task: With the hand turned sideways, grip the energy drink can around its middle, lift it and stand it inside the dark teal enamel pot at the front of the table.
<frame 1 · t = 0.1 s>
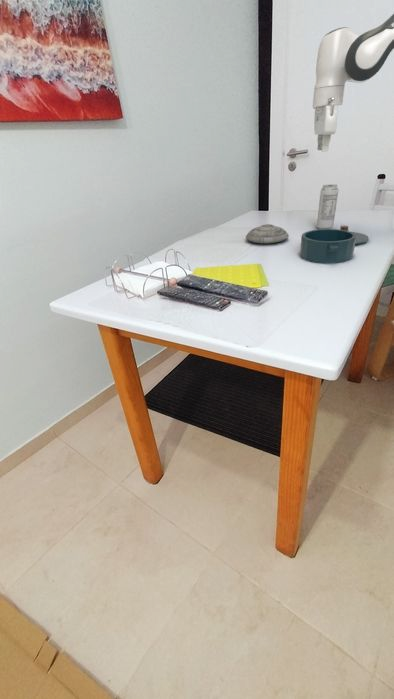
hand: (322, 150, 112), 26 cm above the table, tool pointing down, fingers open, 8 cm apart
energy drink can: (324, 229, 128), on the table
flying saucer: (266, 241, 120), on the table
pot: (325, 255, 102), on the table
pot lid: (342, 238, 113), point 1 cm above the table
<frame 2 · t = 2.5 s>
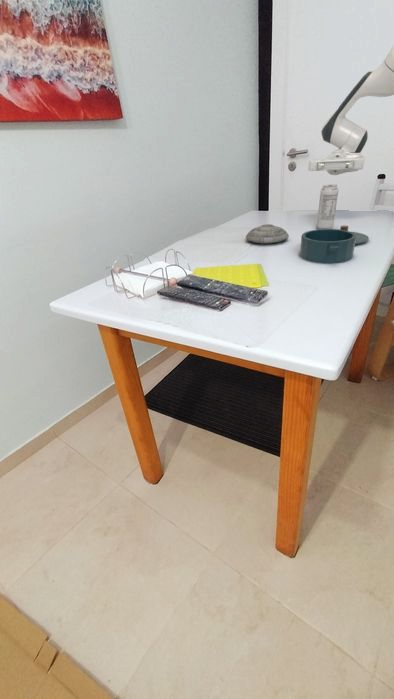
hand: (334, 166, 127), 20 cm above the table, tool horizontal, fingers open, 8 cm apart
nothing on the table moved.
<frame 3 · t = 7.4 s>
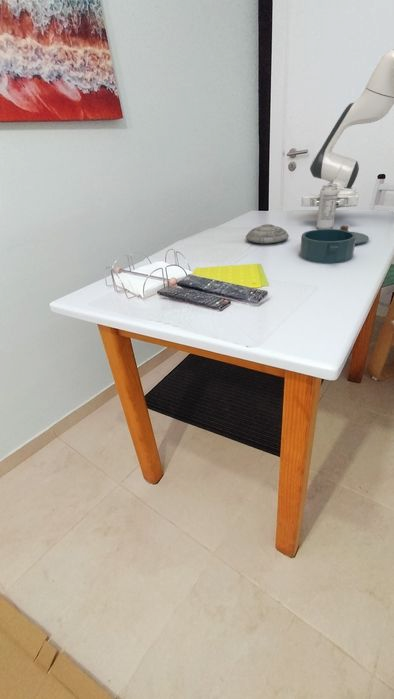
hand: (327, 203, 123), 9 cm above the table, tool horizontal, fingers closed on energy drink can, 6 cm apart
energy drink can: (324, 229, 128), on the table, touching gripper
everything else where it was.
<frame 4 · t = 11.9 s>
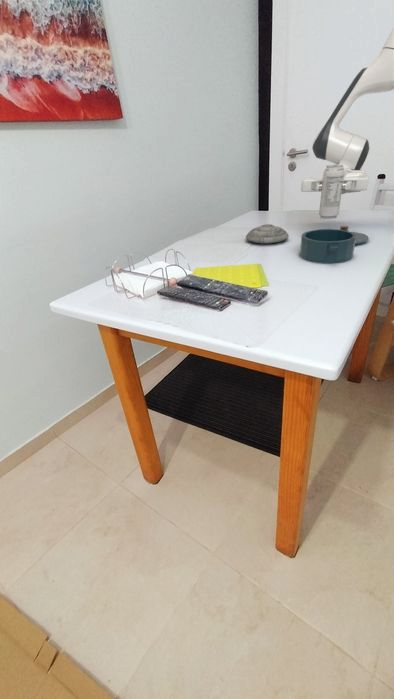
hand: (332, 187, 104), 17 cm above the table, tool horizontal, fingers closed on energy drink can, 6 cm apart
energy drink can: (328, 218, 110), point 8 cm above the table, touching gripper
everything else where it was.
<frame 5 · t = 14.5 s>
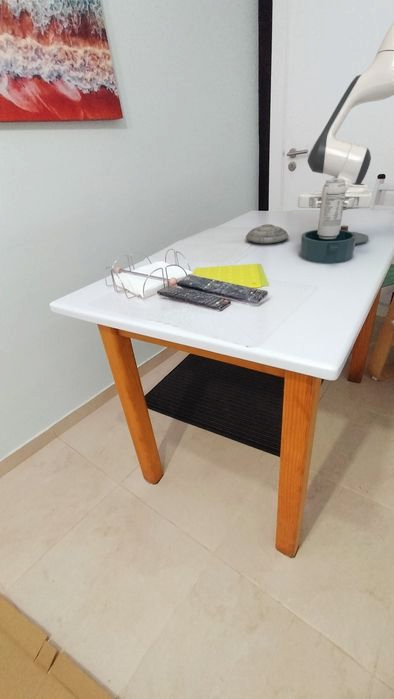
hand: (332, 204, 93), 14 cm above the table, tool horizontal, fingers closed on energy drink can, 6 cm apart
energy drink can: (327, 237, 99), point 5 cm above the table, touching gripper
everything else where it was.
when the fingers open (10 cm above the table, at t = 16.4 s): energy drink can stays where it is, resting on pot.
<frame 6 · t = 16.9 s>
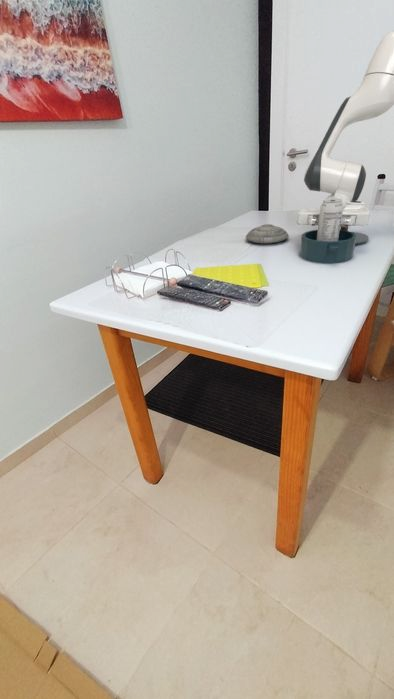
hand: (330, 222, 96), 10 cm above the table, tool horizontal, fingers open, 8 cm apart
energy drink can: (325, 254, 102), resting on pot
everything else where it was.
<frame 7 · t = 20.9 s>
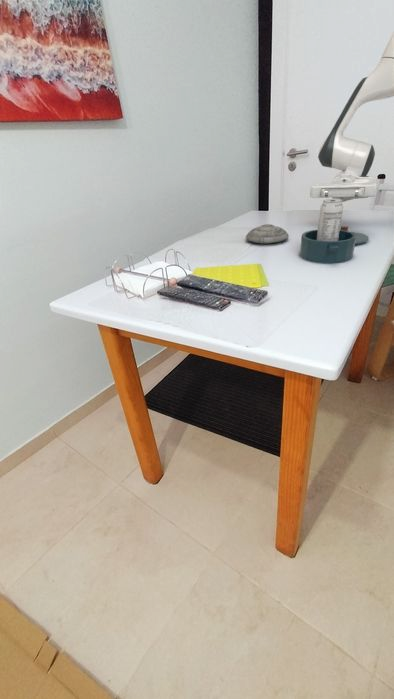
hand: (341, 193, 106), 15 cm above the table, tool horizontal, fingers open, 8 cm apart
nothing on the table moved.
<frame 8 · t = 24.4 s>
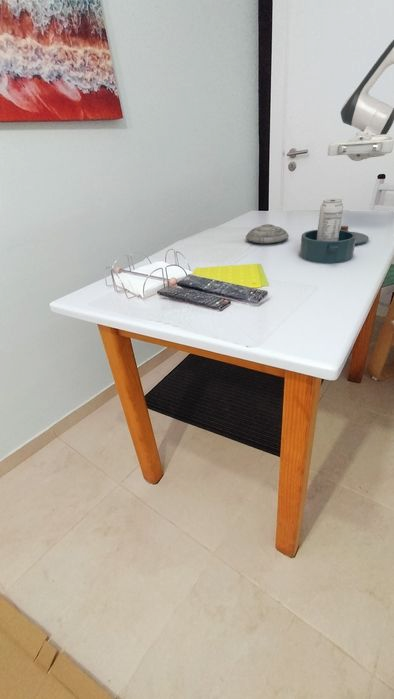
hand: (359, 148, 109), 26 cm above the table, tool horizontal, fingers open, 8 cm apart
nothing on the table moved.
at the end: energy drink can inside the target area in the pot (0.1 cm from its centre), point 0.3 cm above the pot's base; energy drink can tilted 0° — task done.
